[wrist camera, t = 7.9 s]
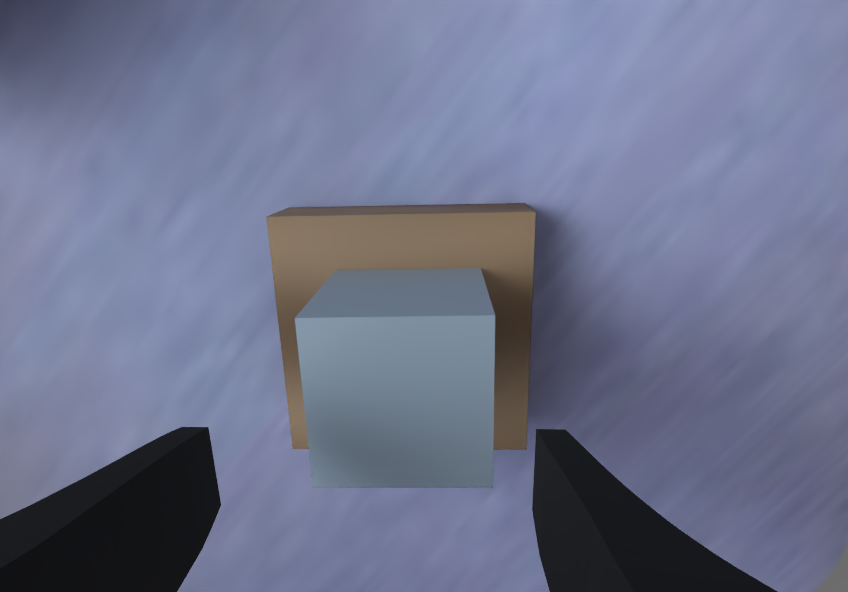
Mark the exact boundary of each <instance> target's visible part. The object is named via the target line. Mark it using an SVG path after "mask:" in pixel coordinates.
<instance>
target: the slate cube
mask: <svg viewBox="0 0 848 592" xmlns="http://www.w3.org/2000/svg"><path fill="white" fill-rule="evenodd" d="M295 326H296V335H297V344H298V354H299V363H300V373H301V382H302V391H303V401H304V410H305V419H306V429H307V438H308V448H309V457H310V466H311V476H312V485H313V488H493V440H494V368H495V313H494V310H493V306H492V303H491V300H490V297H489V293H488V290H487V287H486V284H485V280H484V277H483V274H482V271H481V268H445V269H390V270H335V272H334V273H333V274H332V275H331V276H330V277H329V279H328V280H327V281H326V282H325V283H324V284H323V286H322V287H321V288H320V289H319V290H318V291H317V293H316V294H315V295H314V296H313V297H312V298H311V300H310V301H309V302H308V303H307V304H306V305H305V307H304V308H303V309H302V310H301V311H300V313H299V314H298V315H297V316H296V317H295Z"/></svg>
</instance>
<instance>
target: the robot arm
mask: <svg viewBox="0 0 848 592" xmlns="http://www.w3.org/2000/svg"><path fill="white" fill-rule="evenodd" d="M220 506H221V502H220V496H219V490H218V484H217V478H216V472H215V466H214V459H213V453H212V447H211V441H210V435H209V429H208V427H181V428H178V429H176V430H174V431H171V432H169V433H167V434H165V435H163V436H161V437H159V438H157V439H155V440H153V441H151V442H150V443H148V444H146V445H144V446H142V447H140V448H138V449H137V450H135V451H133V452H131V453H129V454H127V455H126V456H124V457H122V458H120V459H118V460H116V461H115V462H113V463H111V464H109V465H107V466H105V467H103V468H102V469H100V470H98V471H96V472H94V473H92V474H91V475H89V476H87V477H85V478H83V479H81V480H79V481H77V482H75V483H73V484H71V485H69V486H67V487H65V488H63V489H61V490H59V491H58V492H56V493H54V494H52V495H50V496H48V497H46V498H44V499H42V500H40V501H38V502H36V503H34V504H32V505H30V506H28V507H26V508H24V509H22V510H19V511H17V512H15V513H13V514H11V515H9V516H6V517H4V518H2V519H0V592H177V591H178V589H179V587H180V586H181V584H182V582H183V581H184V579H185V577H186V576H187V574H188V572H189V570H190V569H191V567H192V565H193V564H194V562H195V560H196V559H197V557H198V555H199V553H200V552H201V550H202V548H203V546H204V543H205V541H206V539H207V537H208V535H209V532H210V530H211V528H212V526H213V523H214V521H215V518H216V516H217V514H218V511H219V509H220ZM532 510H533V517H534V523H535V529H536V536H537V542H538V548H539V553H540V558H541V561H542V565H543V569H544V572H545V576H546V579H547V583H548V587H549V590H550V592H777V591H775V590H774V589H772V588H770V587H768V586H767V585H765V584H763V583H762V582H760V581H758V580H757V579H755V578H753V577H751V576H750V575H748V574H746V573H745V572H743V571H741V570H740V569H738V568H736V567H735V566H733V565H731V564H730V563H728V562H727V561H725V560H724V559H722V558H720V557H719V556H717V555H716V554H714V553H713V552H711V551H710V550H708V549H707V548H705V547H704V546H702V545H701V544H700V543H698V542H697V541H695V540H694V539H692V538H691V537H689V536H688V535H686V534H685V533H684V532H682V531H681V530H679V529H678V528H677V527H675V526H674V525H673V524H671V523H670V522H669V521H667V520H666V519H665V518H663V517H662V516H661V515H660V514H658V513H657V512H656V511H655V510H653V509H652V508H651V507H650V506H648V505H647V504H646V503H645V502H643V501H642V500H641V499H640V498H638V497H637V496H636V495H635V494H634V493H633V492H631V491H630V490H629V489H628V488H627V487H626V486H624V485H623V484H622V483H621V482H620V481H619V480H618V479H617V478H615V477H614V476H613V475H612V474H611V473H610V472H609V471H608V470H607V469H606V468H605V467H604V466H602V465H601V464H600V463H599V462H598V461H597V460H596V459H595V458H594V457H593V456H592V455H591V454H590V453H589V452H588V451H587V450H586V449H585V448H584V447H583V446H582V445H581V444H580V443H579V442H578V441H577V440H576V439H575V438H574V437H573V436H571V435H570V434H569V433H568V432H567V431H566V430H555V429H536V446H535V467H534V487H533V508H532Z"/></svg>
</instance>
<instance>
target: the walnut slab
mask: <svg viewBox="0 0 848 592" xmlns="http://www.w3.org/2000/svg"><path fill="white" fill-rule="evenodd" d="M535 217H536V212H535V211H534V210H533V209H531V208H530V207H529V206H528V205H526V204H525V203H507V204H454V205H402V206H349V207H296V208H287V209H284V210H282V211H279V212H277V213H274V214H272V215H270V216H267V226H268V235H269V244H270V252H271V261H272V270H273V279H274V287H275V296H276V305H277V314H278V322H279V331H280V340H281V349H282V357H283V366H284V375H285V384H286V392H287V401H288V410H289V419H290V427H291V436H292V445H293V449H309V448H308V438H307V429H306V419H305V410H304V401H303V391H302V382H301V373H300V363H299V354H298V344H297V335H296V326H295V317H296V316H297V315H298V314H299V313H300V311H301V310H302V309H303V308H304V307H305V305H306V304H307V303H308V302H309V301H310V300H311V298H312V297H313V296H314V295H315V294H316V293H317V291H318V290H319V289H320V288H321V287H322V286H323V284H324V283H325V282H326V281H327V280H328V279H329V277H330V276H331V275H332V274H333V273H334V272H335V270H390V269H445V268H481V271H482V274H483V277H484V280H485V284H486V287H487V290H488V293H489V297H490V300H491V303H492V306H493V310H494V313H495V368H494V440H493V449H526V444H527V418H528V393H529V368H530V343H531V318H532V293H533V268H534V242H535Z"/></svg>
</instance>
